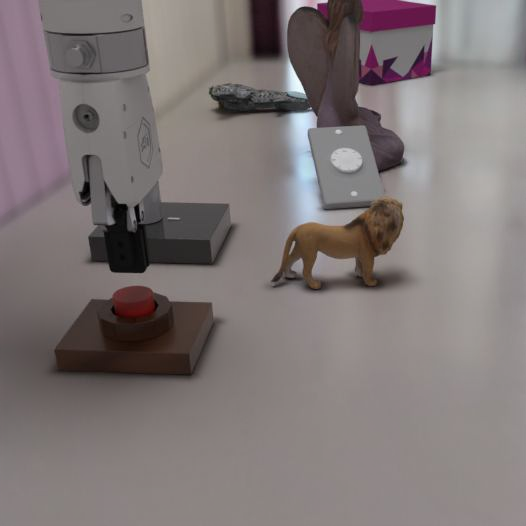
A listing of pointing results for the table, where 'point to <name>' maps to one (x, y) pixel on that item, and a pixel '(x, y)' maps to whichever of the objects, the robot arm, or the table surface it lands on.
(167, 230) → the dark grey dial base
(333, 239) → the lion figurine
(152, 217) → the knob
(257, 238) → the table surface
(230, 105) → the jagged slate chunk
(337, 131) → the light switch
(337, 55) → the figurine
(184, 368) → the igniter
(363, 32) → the decorative box
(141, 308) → the button
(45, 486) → the table surface
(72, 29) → the robot arm
